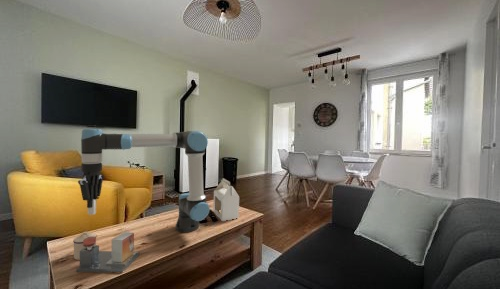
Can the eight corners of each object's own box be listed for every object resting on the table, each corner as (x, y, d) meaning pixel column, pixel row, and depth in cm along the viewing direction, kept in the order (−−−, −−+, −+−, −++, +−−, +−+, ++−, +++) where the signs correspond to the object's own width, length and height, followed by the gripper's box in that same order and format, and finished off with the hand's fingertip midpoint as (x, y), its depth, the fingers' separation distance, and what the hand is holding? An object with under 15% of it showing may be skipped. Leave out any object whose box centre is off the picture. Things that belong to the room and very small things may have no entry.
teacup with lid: (94, 257, 101) (94, 234, 101) (70, 262, 97) (70, 238, 96) (98, 246, 111) (99, 224, 111) (77, 249, 107) (77, 227, 107)
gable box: (213, 211, 169) (214, 177, 168) (228, 209, 175) (229, 176, 174) (222, 221, 149) (223, 183, 148) (238, 218, 155) (239, 182, 154)
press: (139, 254, 104) (139, 238, 104) (122, 272, 90) (122, 254, 90) (99, 253, 104) (99, 237, 104) (76, 271, 90) (76, 252, 90)
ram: (98, 258, 96) (98, 236, 96) (90, 264, 92) (90, 241, 92) (88, 258, 96) (88, 236, 96) (80, 264, 92) (80, 241, 91)
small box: (121, 263, 94) (122, 240, 94) (111, 261, 95) (111, 239, 94) (134, 253, 102) (134, 232, 102) (124, 252, 103) (124, 231, 102)
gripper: (94, 160, 100) (94, 208, 101) (71, 164, 87) (71, 219, 88) (109, 161, 100) (109, 208, 101) (89, 164, 87) (89, 219, 88)
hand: (91, 213), depth 94 cm, fingers closed
